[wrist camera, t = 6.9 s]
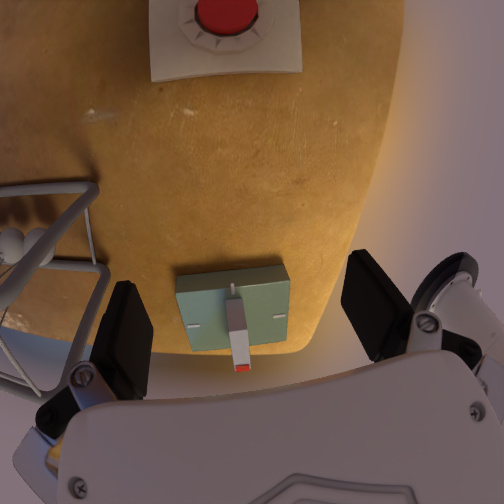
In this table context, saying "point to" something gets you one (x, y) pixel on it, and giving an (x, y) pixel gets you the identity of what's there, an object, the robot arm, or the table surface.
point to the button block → (223, 42)
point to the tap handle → (238, 334)
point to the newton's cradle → (40, 256)
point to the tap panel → (233, 287)
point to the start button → (226, 15)
